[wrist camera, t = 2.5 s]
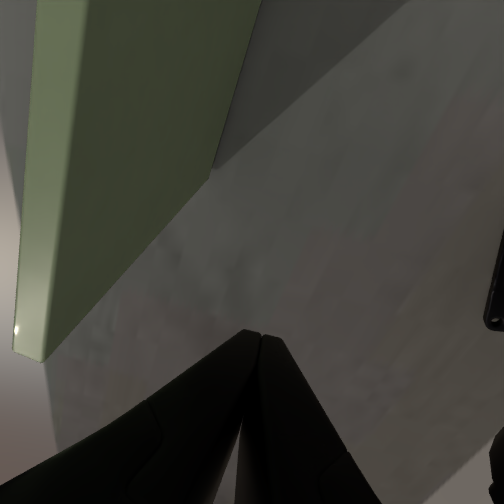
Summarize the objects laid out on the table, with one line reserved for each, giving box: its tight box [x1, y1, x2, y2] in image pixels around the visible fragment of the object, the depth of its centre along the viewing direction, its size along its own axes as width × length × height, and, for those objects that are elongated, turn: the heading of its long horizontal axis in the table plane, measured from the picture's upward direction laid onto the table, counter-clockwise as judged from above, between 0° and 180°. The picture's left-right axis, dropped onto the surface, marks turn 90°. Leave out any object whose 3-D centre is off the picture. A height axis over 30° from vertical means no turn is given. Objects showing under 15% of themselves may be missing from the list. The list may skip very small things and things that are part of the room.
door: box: [12, 0, 261, 363], centre depth 13 cm, size 11×1×13 cm, turn 161°
